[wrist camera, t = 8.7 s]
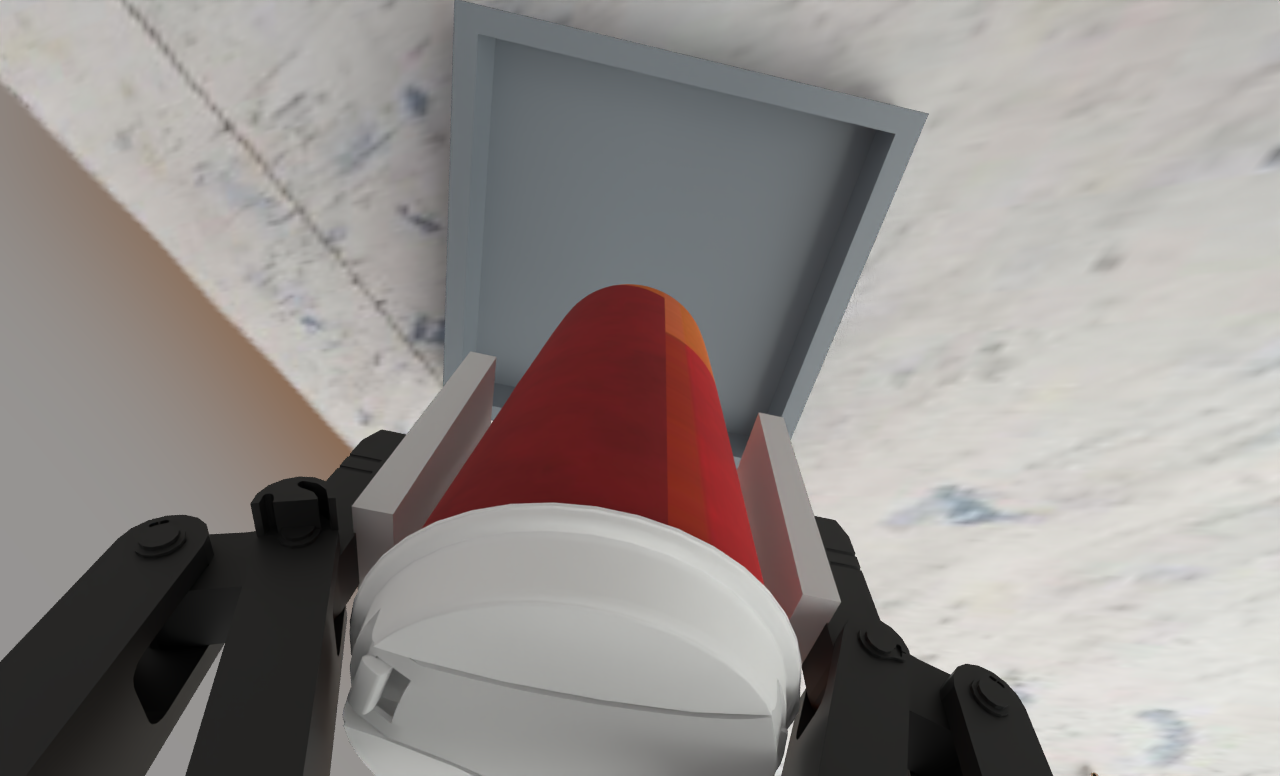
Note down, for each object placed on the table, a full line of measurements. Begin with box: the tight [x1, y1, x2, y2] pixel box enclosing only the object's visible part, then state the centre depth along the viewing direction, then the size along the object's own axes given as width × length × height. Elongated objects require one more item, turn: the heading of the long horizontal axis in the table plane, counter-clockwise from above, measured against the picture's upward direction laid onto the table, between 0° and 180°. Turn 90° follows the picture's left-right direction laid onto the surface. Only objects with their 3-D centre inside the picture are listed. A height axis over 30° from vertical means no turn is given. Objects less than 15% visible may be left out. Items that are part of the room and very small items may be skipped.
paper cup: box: [343, 284, 802, 776], centre depth 14 cm, size 8×8×14 cm
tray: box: [443, 0, 928, 470], centre depth 29 cm, size 20×20×4 cm
